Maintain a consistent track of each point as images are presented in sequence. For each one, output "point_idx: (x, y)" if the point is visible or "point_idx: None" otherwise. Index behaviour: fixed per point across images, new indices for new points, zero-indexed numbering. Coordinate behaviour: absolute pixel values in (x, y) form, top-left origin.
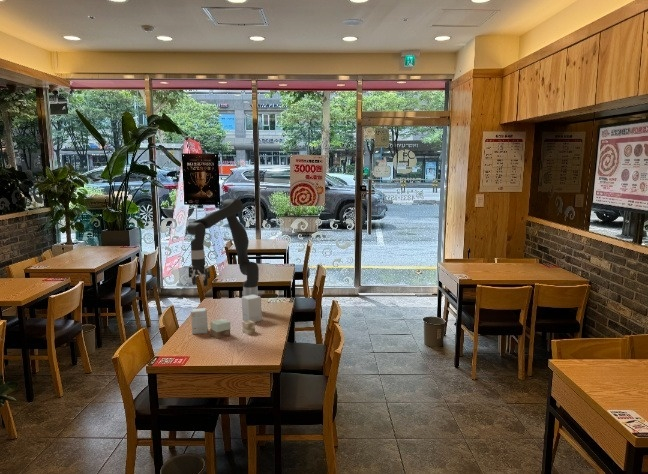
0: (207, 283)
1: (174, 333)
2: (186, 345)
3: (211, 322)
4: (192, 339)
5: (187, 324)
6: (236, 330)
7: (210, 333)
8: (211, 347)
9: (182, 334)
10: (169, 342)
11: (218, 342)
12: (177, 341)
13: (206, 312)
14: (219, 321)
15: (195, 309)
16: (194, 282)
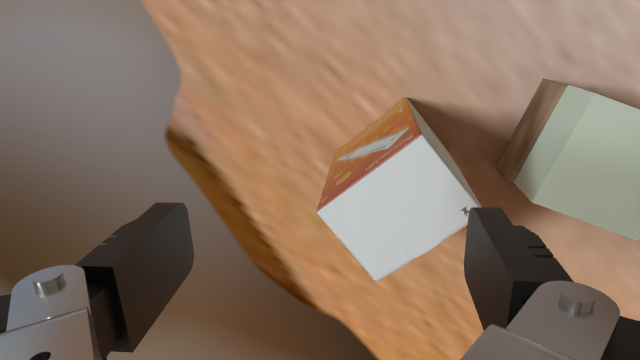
0: (543, 246)
1: (266, 233)
2: (475, 336)
3: (550, 208)
4: (441, 263)
5: (191, 73)
6: (626, 8)
7: (499, 171)
8: (633, 312)
9: (322, 227)
10: (358, 336)
11: (629, 243)
12: (385, 313)
13: (436, 146)
14: (606, 167)
15: (359, 216)
16: (171, 262)
